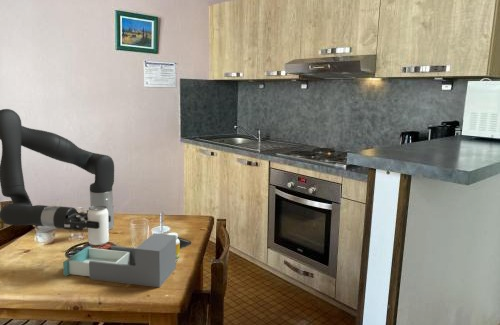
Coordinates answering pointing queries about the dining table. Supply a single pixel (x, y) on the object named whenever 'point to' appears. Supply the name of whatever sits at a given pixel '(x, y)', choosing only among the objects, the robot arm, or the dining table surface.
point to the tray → (81, 260)
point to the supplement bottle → (176, 245)
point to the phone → (183, 242)
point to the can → (102, 233)
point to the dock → (140, 263)
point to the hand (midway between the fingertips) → (104, 222)
